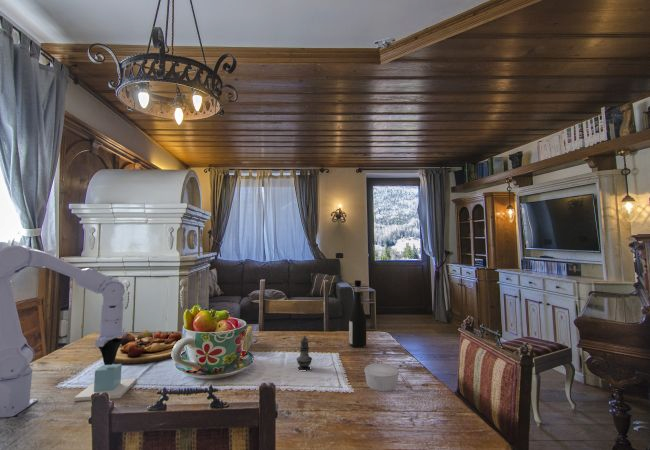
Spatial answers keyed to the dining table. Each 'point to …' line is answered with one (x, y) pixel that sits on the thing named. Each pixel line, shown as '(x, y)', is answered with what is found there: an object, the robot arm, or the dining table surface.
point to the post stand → (115, 393)
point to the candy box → (248, 339)
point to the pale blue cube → (107, 377)
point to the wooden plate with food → (146, 347)
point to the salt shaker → (304, 356)
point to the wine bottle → (357, 320)
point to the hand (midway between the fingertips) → (109, 364)
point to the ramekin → (381, 377)
